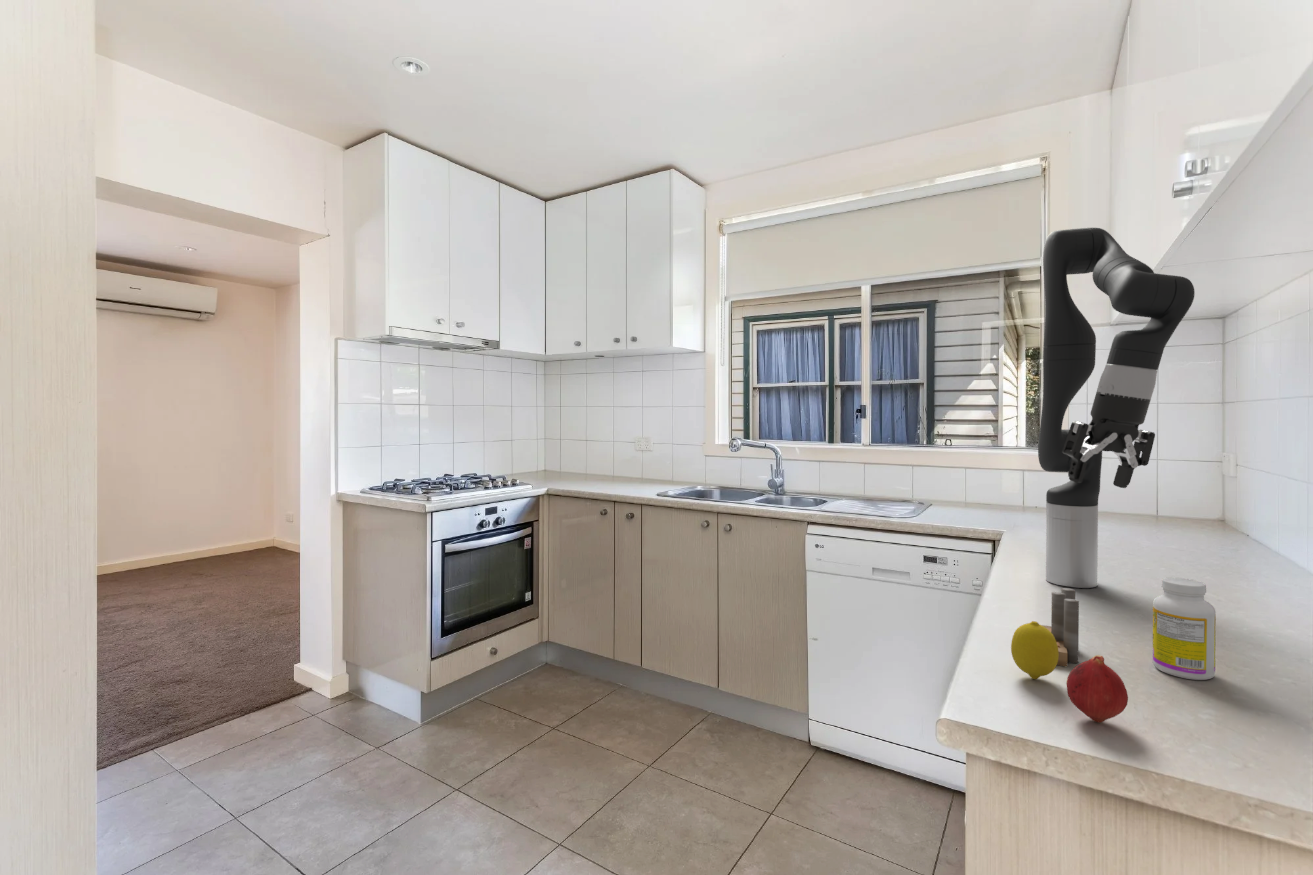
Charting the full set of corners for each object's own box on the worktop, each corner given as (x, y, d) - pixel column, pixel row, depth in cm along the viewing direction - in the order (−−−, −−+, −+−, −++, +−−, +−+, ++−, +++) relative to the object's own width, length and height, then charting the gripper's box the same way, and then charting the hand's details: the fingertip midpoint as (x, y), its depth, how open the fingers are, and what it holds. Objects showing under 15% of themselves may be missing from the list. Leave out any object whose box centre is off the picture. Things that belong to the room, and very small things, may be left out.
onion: (1067, 725, 70) (1068, 658, 70) (1064, 705, 75) (1065, 642, 75) (1130, 739, 67) (1131, 668, 67) (1123, 717, 72) (1124, 651, 72)
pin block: (1029, 635, 99) (1030, 581, 99) (1073, 641, 96) (1073, 586, 96) (1031, 660, 89) (1031, 600, 88) (1080, 668, 86) (1080, 606, 85)
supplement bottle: (1174, 659, 88) (1175, 573, 88) (1227, 678, 82) (1229, 585, 82) (1140, 665, 87) (1141, 577, 86) (1191, 684, 80) (1192, 589, 80)
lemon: (1047, 672, 85) (1048, 616, 84) (1065, 689, 79) (1066, 629, 79) (1004, 669, 86) (1005, 613, 86) (1019, 685, 80) (1020, 627, 80)
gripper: (1142, 395, 107) (1116, 482, 110) (1068, 385, 105) (1044, 474, 108) (1181, 402, 99) (1152, 495, 102) (1102, 391, 98) (1075, 485, 101)
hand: (1097, 484), depth 105 cm, fingers open, 8 cm apart
